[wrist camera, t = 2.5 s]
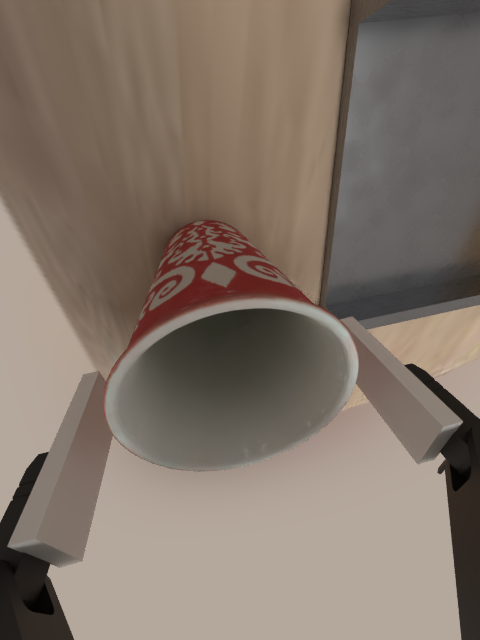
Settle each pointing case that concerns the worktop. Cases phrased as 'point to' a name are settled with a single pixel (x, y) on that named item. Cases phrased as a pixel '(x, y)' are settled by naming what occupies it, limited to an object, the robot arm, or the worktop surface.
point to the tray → (406, 164)
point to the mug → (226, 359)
